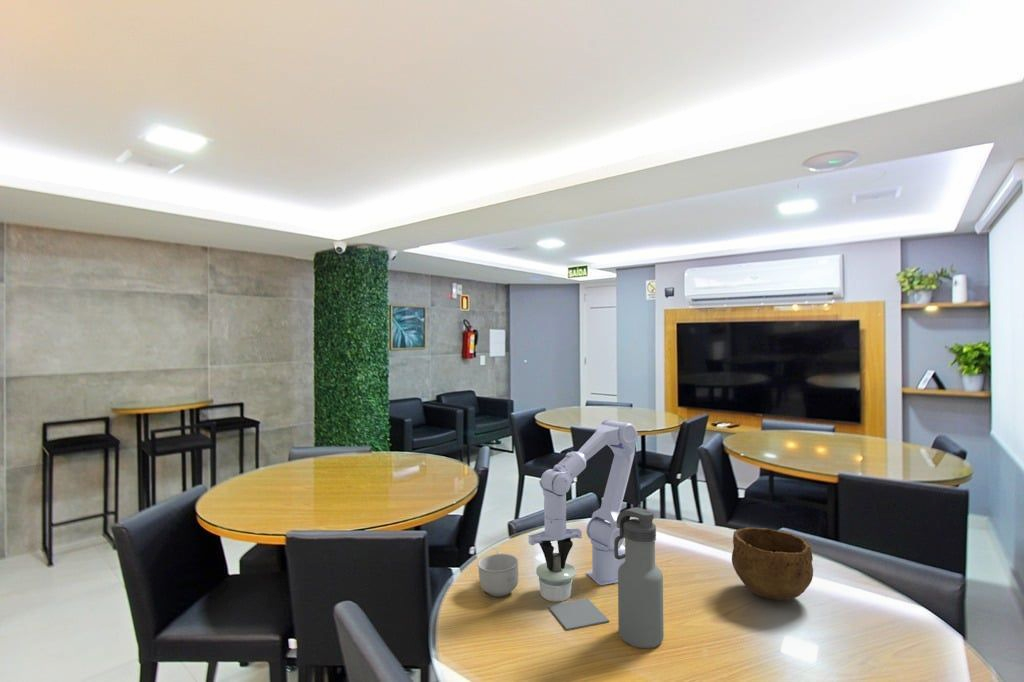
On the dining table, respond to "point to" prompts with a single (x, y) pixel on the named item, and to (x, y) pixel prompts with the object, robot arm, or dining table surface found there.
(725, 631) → the dining table surface
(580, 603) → the mat
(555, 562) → the lid
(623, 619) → the water bottle
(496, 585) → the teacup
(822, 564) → the dining table surface
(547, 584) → the ramekin
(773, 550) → the bowl
